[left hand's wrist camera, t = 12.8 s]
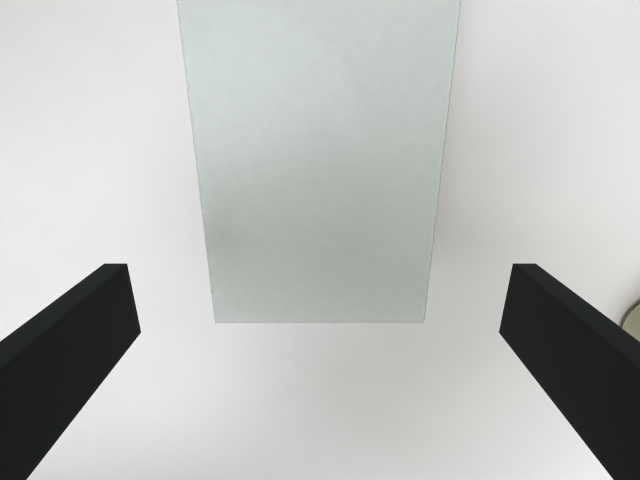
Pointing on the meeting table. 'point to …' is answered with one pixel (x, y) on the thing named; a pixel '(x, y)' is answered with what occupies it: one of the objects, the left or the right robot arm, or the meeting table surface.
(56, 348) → the left robot arm
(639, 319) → the flower pot
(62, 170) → the meeting table surface
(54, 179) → the meeting table surface
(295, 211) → the pale grey box
